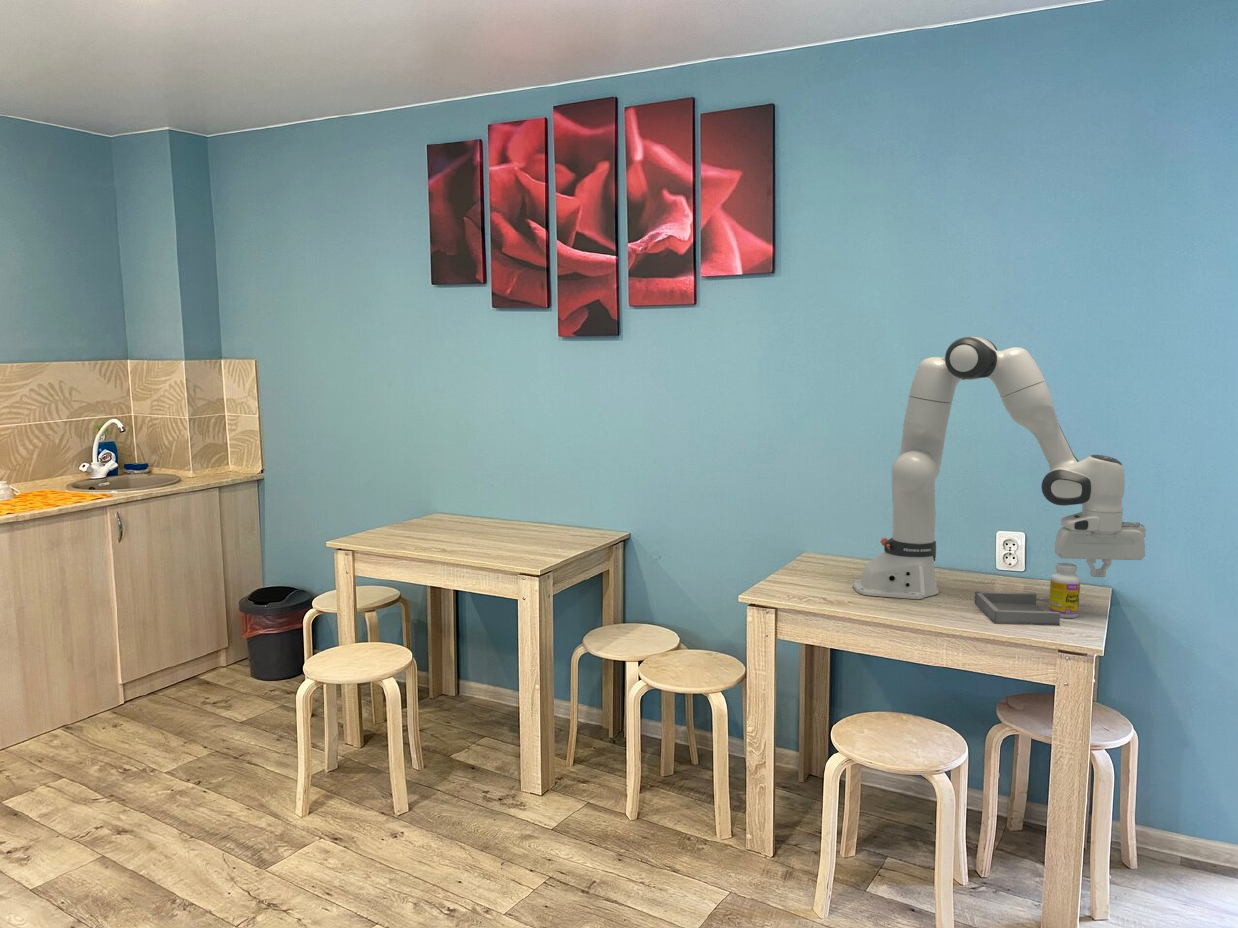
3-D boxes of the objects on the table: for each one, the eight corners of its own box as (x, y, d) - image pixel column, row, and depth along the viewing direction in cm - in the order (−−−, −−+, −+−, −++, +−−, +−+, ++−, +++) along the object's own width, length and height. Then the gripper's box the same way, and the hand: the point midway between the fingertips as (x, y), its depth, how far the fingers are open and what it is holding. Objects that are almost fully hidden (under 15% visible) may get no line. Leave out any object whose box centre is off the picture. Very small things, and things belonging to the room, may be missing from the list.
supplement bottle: (1064, 620, 228) (1067, 569, 226) (1042, 613, 234) (1045, 563, 232) (1084, 617, 230) (1087, 566, 229) (1061, 610, 236) (1064, 560, 235)
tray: (994, 623, 225) (995, 611, 225) (974, 602, 243) (975, 591, 242) (1059, 625, 223) (1060, 613, 223) (1034, 604, 241) (1035, 593, 241)
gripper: (1140, 519, 230) (1136, 574, 232) (1054, 518, 232) (1050, 572, 234) (1152, 524, 224) (1147, 580, 226) (1063, 523, 226) (1059, 578, 228)
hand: (1097, 576), depth 230 cm, fingers closed
